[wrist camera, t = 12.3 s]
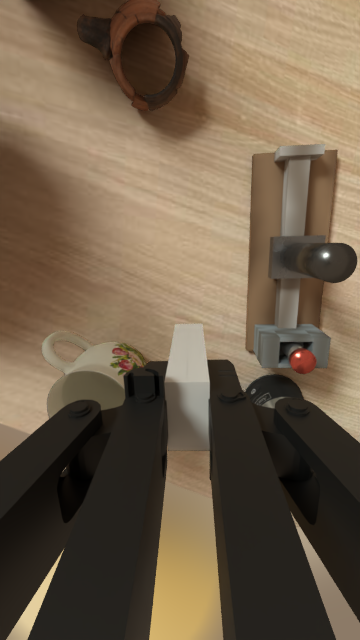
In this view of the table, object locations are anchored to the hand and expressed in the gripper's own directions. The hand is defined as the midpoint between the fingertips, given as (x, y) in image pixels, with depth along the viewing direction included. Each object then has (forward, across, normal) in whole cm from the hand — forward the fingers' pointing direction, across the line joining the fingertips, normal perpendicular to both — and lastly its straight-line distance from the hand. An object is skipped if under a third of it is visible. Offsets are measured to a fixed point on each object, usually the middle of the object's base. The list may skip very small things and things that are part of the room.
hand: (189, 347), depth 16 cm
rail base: (+26, +13, +2) cm, 29 cm away
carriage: (+24, +13, +3) cm, 28 cm away
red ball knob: (+21, +13, -8) cm, 26 cm away
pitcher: (+26, -12, -12) cm, 31 cm away
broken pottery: (+27, -6, +26) cm, 38 cm away
